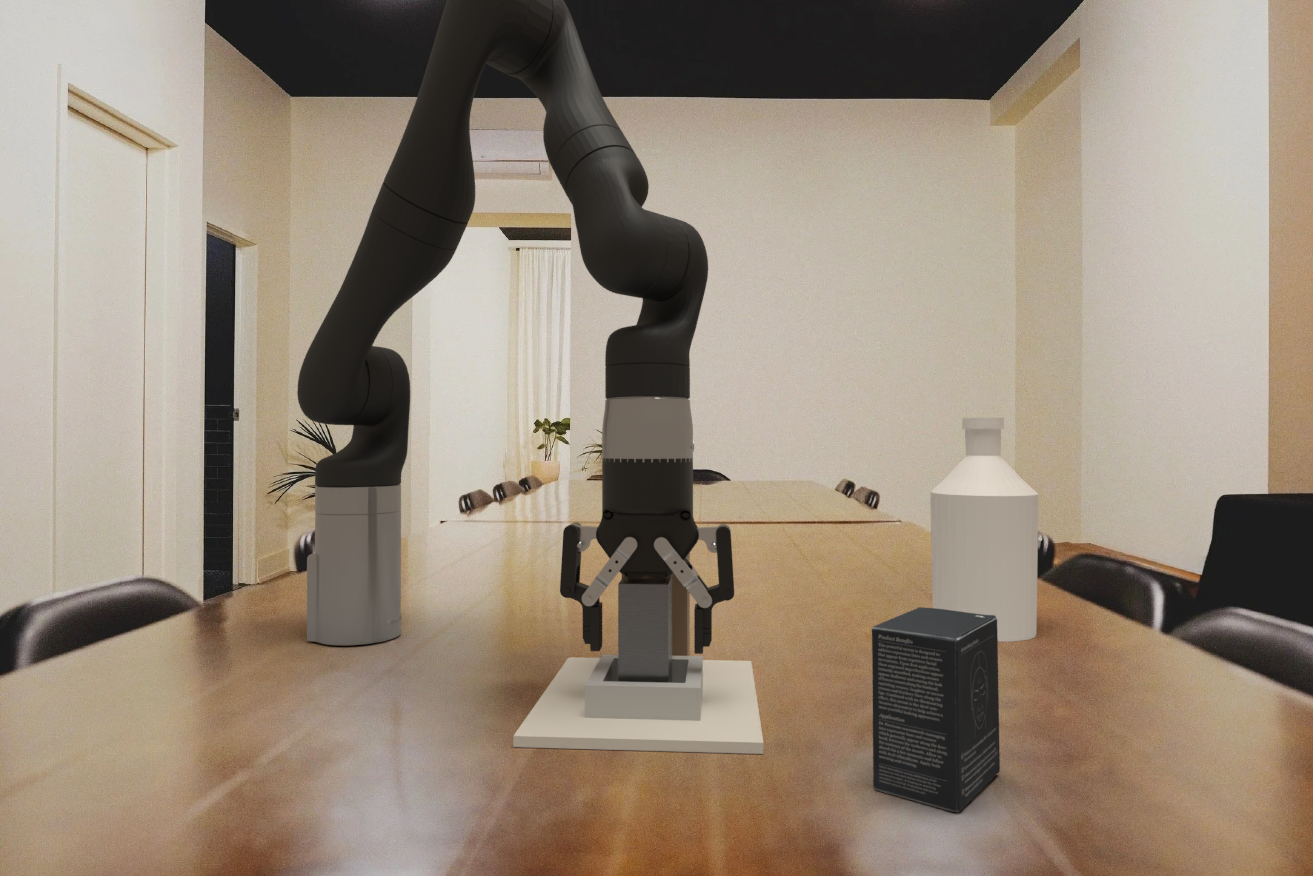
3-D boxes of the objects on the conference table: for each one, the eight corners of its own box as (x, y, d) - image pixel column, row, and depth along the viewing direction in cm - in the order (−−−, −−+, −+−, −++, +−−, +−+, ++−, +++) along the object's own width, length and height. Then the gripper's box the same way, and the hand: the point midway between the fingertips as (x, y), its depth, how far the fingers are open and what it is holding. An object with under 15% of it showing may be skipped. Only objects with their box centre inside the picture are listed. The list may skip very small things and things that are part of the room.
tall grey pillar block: (618, 709, 65) (618, 584, 66) (625, 690, 70) (625, 574, 71) (668, 711, 65) (668, 584, 65) (672, 692, 70) (672, 574, 70)
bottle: (1006, 647, 89) (1005, 415, 89) (910, 628, 98) (910, 418, 98) (1058, 631, 96) (1057, 418, 96) (964, 615, 105) (964, 420, 106)
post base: (513, 747, 60) (513, 542, 60) (568, 665, 82) (568, 516, 82) (763, 754, 58) (763, 544, 58) (751, 669, 80) (751, 517, 80)
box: (918, 754, 58) (918, 605, 58) (1001, 775, 55) (1001, 615, 55) (869, 790, 52) (869, 623, 52) (959, 816, 49) (958, 636, 49)
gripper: (553, 454, 65) (553, 661, 65) (734, 454, 64) (735, 664, 64) (570, 453, 72) (570, 638, 72) (733, 453, 71) (733, 641, 71)
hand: (647, 650), depth 68 cm, fingers open, 8 cm apart
